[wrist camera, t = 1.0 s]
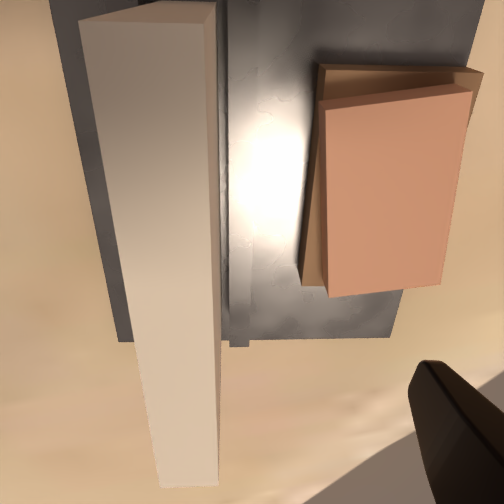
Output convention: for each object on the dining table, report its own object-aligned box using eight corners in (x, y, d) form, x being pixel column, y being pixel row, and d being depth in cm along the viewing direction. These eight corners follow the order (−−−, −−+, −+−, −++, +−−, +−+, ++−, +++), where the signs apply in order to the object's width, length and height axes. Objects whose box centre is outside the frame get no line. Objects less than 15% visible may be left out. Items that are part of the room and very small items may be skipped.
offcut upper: (322, 279, 21) (328, 297, 19) (318, 100, 16) (325, 110, 15) (428, 267, 20) (440, 284, 19) (454, 83, 16) (472, 91, 15)
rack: (122, 330, 25) (108, 376, 22) (37, -108, 14) (-13, -133, 11) (384, 326, 26) (404, 370, 23) (494, -89, 15) (560, -106, 12)
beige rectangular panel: (185, 301, 23) (160, 488, 14) (161, 0, 15) (77, 20, 7) (222, 300, 23) (218, 485, 14) (216, 2, 15) (203, 23, 7)
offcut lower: (297, 270, 22) (301, 286, 21) (319, 63, 16) (326, 70, 15) (409, 269, 22) (419, 285, 21) (465, 66, 17) (484, 73, 16)
